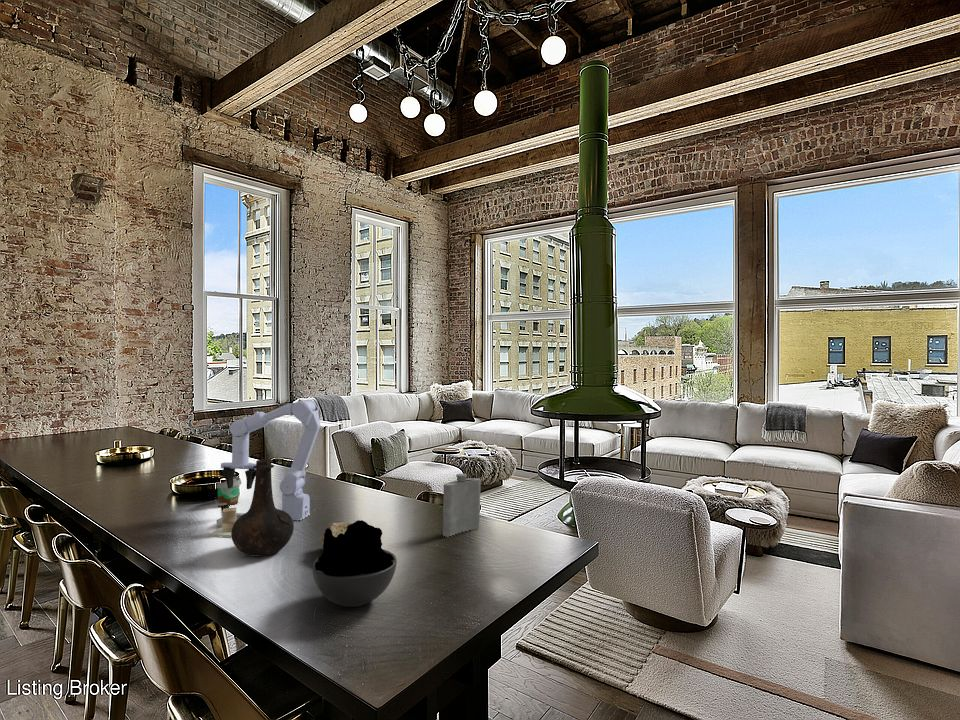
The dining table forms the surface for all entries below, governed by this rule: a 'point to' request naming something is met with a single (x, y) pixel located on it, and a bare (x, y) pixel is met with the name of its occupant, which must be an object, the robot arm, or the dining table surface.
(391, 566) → the bowl of black rocks
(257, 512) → the glass bottle
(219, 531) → the ceramic tile
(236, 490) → the food container
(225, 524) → the maple peg
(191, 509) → the dining table surface
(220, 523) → the white flat frame
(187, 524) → the dining table surface
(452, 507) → the hip flask
